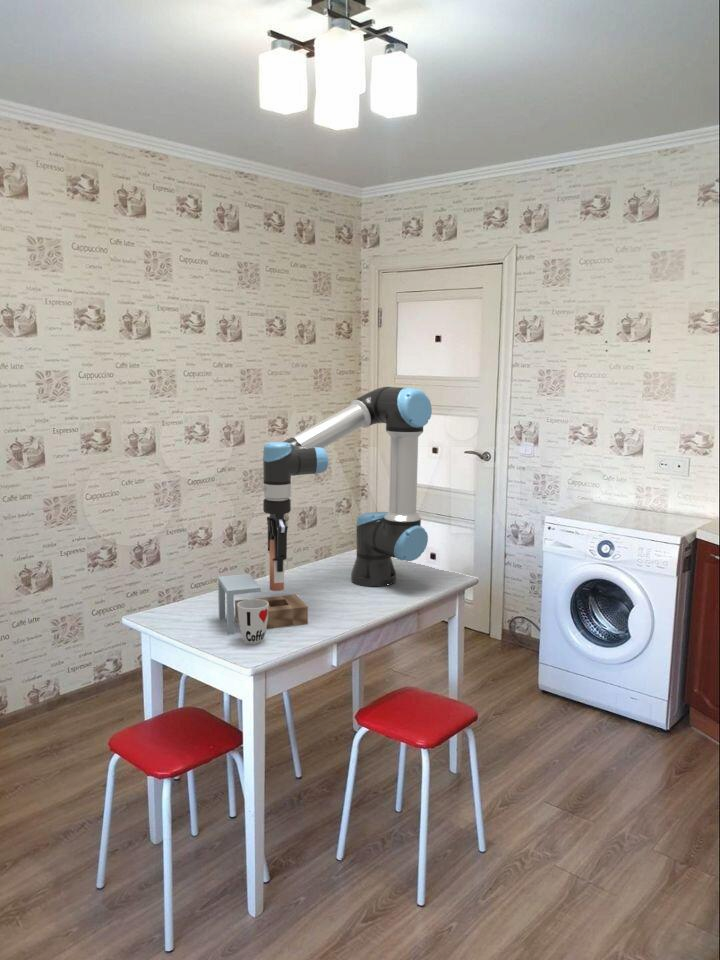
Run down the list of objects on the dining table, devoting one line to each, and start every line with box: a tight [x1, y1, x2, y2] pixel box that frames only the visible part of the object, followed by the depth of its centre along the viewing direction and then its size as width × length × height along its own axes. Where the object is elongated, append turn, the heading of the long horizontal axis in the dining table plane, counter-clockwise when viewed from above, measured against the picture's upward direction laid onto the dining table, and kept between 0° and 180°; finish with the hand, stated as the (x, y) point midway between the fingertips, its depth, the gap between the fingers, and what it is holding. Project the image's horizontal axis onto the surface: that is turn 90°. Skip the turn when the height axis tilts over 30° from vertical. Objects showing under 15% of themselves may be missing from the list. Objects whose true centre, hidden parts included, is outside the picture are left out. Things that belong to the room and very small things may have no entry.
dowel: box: [269, 539, 285, 592], centre depth 212 cm, size 4×4×14 cm
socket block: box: [234, 593, 309, 630], centre depth 214 cm, size 18×12×5 cm, turn 111°
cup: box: [237, 598, 269, 645], centre depth 199 cm, size 8×8×10 cm
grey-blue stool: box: [217, 573, 262, 636], centre depth 210 cm, size 9×14×12 cm, turn 21°
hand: (276, 579), depth 213 cm, fingers closed on dowel, 4 cm apart
